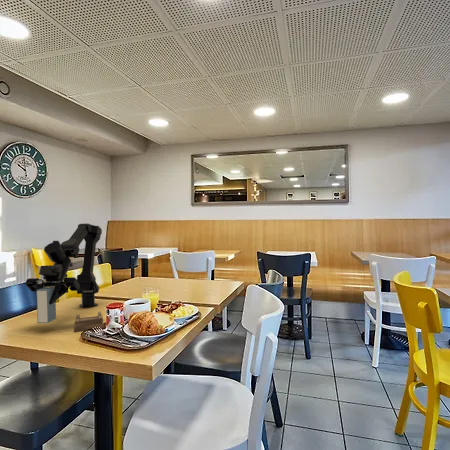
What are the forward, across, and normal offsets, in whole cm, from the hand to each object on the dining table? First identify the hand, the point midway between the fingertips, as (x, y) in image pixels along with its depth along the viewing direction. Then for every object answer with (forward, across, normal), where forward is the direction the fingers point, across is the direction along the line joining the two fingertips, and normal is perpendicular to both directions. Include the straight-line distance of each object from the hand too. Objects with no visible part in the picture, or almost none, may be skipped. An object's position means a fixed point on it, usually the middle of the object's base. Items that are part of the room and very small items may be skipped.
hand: (44, 304), depth 113 cm
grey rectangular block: (+4, 0, +6) cm, 7 cm away
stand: (+3, +14, +11) cm, 18 cm away
